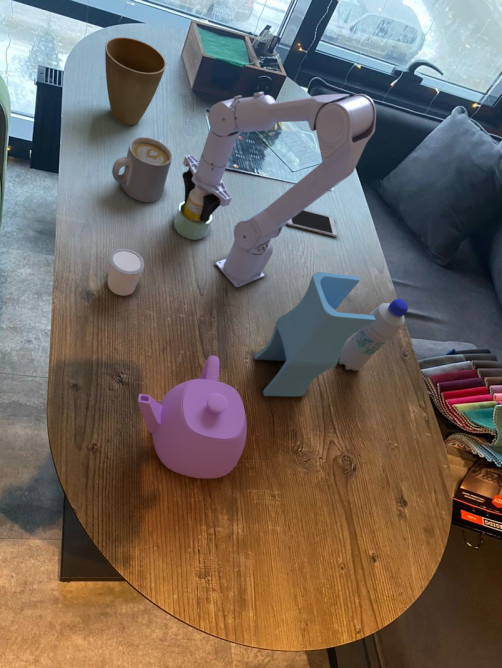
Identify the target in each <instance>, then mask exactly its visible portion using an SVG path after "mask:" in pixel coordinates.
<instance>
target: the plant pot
mask: <svg viewBox="0 0 502 668" xmlns="http://www.w3.org/2000/svg"><path fill="white" fill-rule="evenodd" d="M104 56H105V58H104V59H105V62H104V63H105V80H106V89H107V90H106V91H107V97H108V102H109V108H110V112H111V116H112V117H113V119H114V120H115V121H117V122H118V123H120V124H122V125H126V126H135V125H137V124H139V122H140V121H141V120H142V118H143V116H144V115H145V113H146V111H147V110H148V108H149V106H150V104H151V102H152V100H153V99H154V96H155V95H156V92H157V91H158V88H159V85H160V82H161V80H162V78H163V76H164V72H165V70H166V66H167V62H166V60H165V57H164V56H163V54H162V53H161V52H160V51H159V50H158V49H156V48H155V47H154V46H152V45H151V44H148V43H147V42H144V41H142V40H139V39H136V38H131V37H125V36H118V37H113V38H110V39H108V40H107V41H106V43H105V45H104Z"/></svg>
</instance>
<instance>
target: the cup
mask: <svg viewBox="0 0 502 668" xmlns="http://www.w3.org/2000/svg"><path fill="white" fill-rule="evenodd" d="M185 206H186V204H185V200H183V201H181V202H180V203H179V204H178V207H177V209H176V212H175V216H174V220H173V227H174V229H175V231H176V232H177V233H178V234H179V235H181V236H182V237H184V238H186V239H188V240H195V241H197V240H201V239H203V238H205V237H206V235H207V234H208V231H209V229H210V226H211V223H212V222H213V213H212V214H211V216H210V217H209V219H208V220H205V221H204V223H196V222H193V221H190V220H189V219H187V218H186V217H185V216H184V215H183V211H184V208H185Z"/></svg>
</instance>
